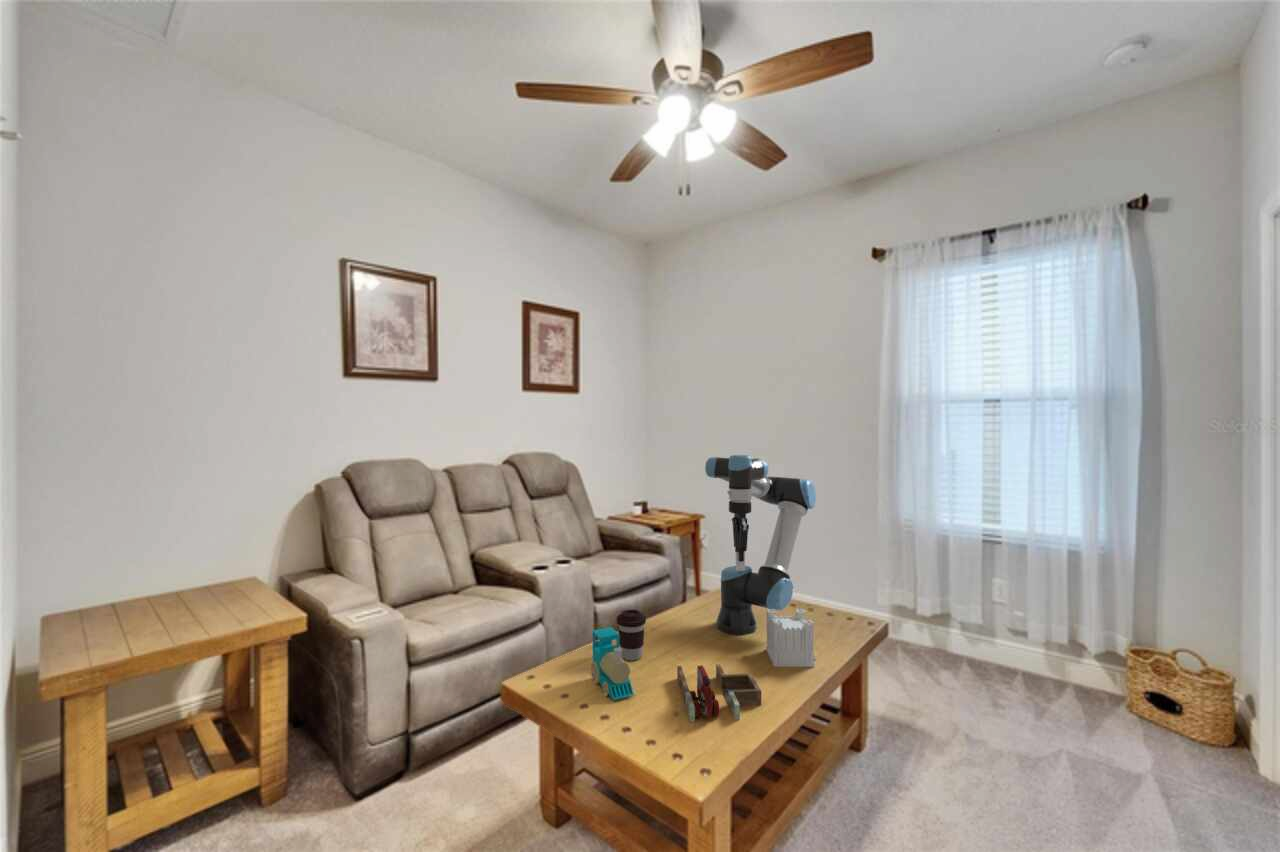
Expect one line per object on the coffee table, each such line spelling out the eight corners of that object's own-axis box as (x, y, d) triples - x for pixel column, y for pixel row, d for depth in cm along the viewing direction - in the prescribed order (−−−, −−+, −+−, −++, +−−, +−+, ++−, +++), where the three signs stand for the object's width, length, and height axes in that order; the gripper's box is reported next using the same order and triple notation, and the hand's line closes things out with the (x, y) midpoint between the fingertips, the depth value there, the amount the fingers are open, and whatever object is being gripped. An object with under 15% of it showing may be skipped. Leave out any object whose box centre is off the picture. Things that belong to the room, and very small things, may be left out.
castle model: (766, 649, 189) (766, 608, 189) (809, 650, 189) (809, 609, 188) (774, 666, 176) (774, 623, 176) (820, 667, 176) (820, 623, 176)
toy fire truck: (696, 724, 144) (695, 685, 144) (687, 699, 156) (687, 664, 156) (721, 722, 144) (721, 683, 144) (711, 698, 157) (711, 662, 157)
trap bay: (721, 688, 163) (720, 674, 162) (751, 686, 163) (751, 673, 163) (729, 706, 152) (729, 692, 152) (761, 704, 153) (761, 690, 153)
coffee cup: (652, 656, 185) (651, 612, 184) (631, 666, 177) (631, 620, 177) (631, 647, 191) (630, 605, 191) (610, 657, 184) (610, 613, 184)
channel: (677, 678, 168) (677, 666, 168) (719, 677, 169) (719, 664, 169) (690, 722, 144) (690, 707, 144) (739, 719, 145) (739, 704, 145)
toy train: (611, 703, 154) (610, 651, 154) (590, 678, 169) (590, 631, 169) (636, 697, 158) (635, 646, 157) (613, 673, 173) (613, 626, 172)
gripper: (724, 498, 189) (724, 565, 190) (733, 504, 177) (734, 576, 177) (745, 497, 190) (745, 564, 190) (756, 503, 177) (756, 575, 177)
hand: (740, 570), depth 184 cm, fingers closed
